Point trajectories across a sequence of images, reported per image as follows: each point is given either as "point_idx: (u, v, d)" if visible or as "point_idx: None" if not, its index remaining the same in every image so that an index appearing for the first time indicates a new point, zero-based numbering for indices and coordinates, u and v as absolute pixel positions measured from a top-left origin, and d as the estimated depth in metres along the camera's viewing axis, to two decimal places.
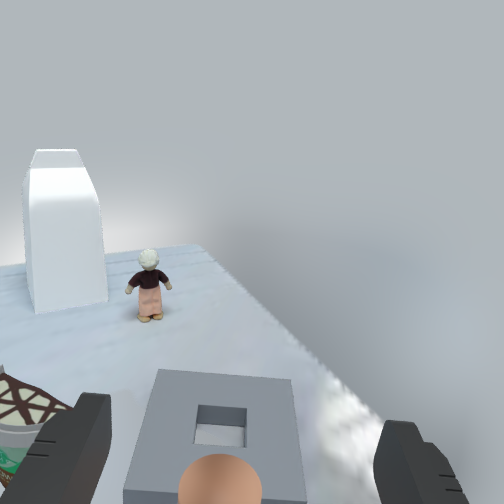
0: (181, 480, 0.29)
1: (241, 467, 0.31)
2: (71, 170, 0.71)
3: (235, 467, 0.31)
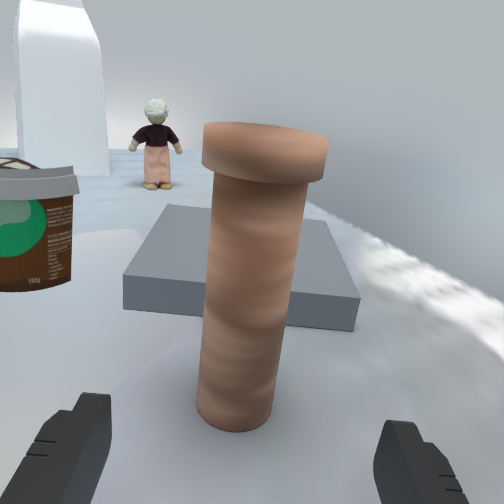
0: (208, 124, 0.20)
1: (294, 130, 0.21)
2: (68, 9, 0.62)
3: (285, 129, 0.21)
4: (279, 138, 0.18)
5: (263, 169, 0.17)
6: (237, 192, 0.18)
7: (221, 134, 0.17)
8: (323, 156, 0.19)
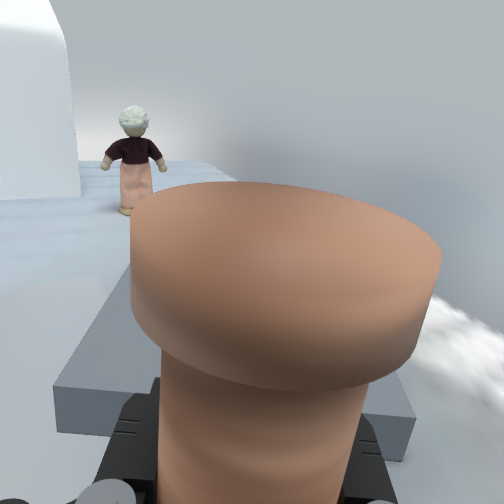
0: (146, 199, 0.08)
1: (341, 202, 0.10)
2: None
3: (323, 200, 0.10)
4: (323, 256, 0.07)
5: (282, 359, 0.06)
6: (212, 386, 0.07)
7: (163, 255, 0.06)
8: (431, 293, 0.07)
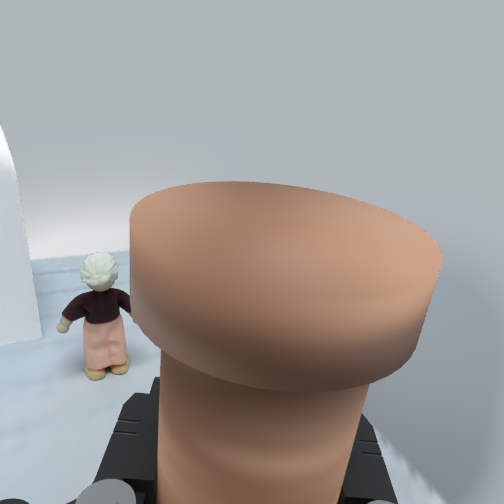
0: (146, 199, 0.08)
1: (341, 202, 0.10)
2: None
3: (323, 201, 0.10)
4: (323, 256, 0.07)
5: (281, 361, 0.06)
6: (212, 387, 0.07)
7: (163, 255, 0.06)
8: (432, 293, 0.07)
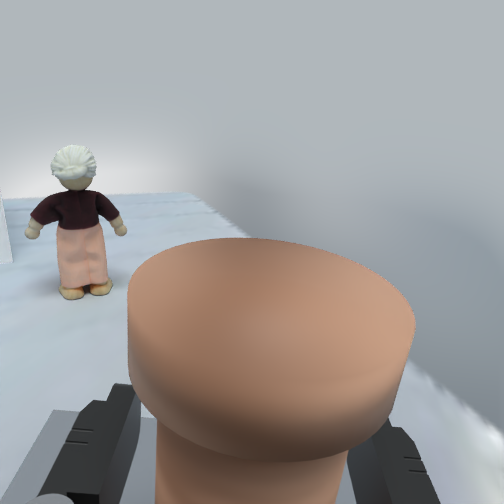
0: (143, 267, 0.09)
1: (326, 261, 0.10)
2: None
3: (309, 259, 0.10)
4: (304, 332, 0.07)
5: (265, 435, 0.07)
6: (204, 449, 0.08)
7: (157, 338, 0.07)
8: None
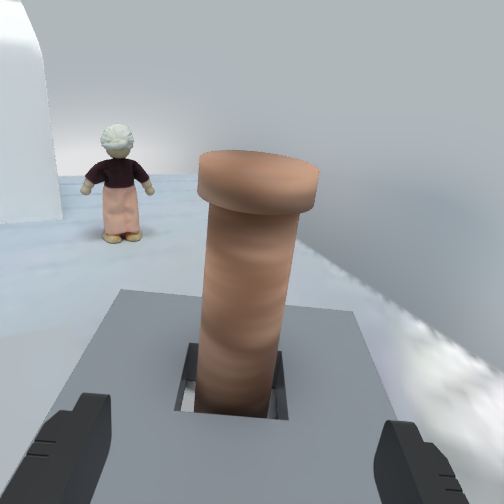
0: (203, 154, 0.20)
1: (286, 158, 0.22)
2: None
3: (278, 158, 0.22)
4: (271, 171, 0.19)
5: (256, 202, 0.18)
6: (231, 222, 0.19)
7: (216, 168, 0.18)
8: (314, 187, 0.19)
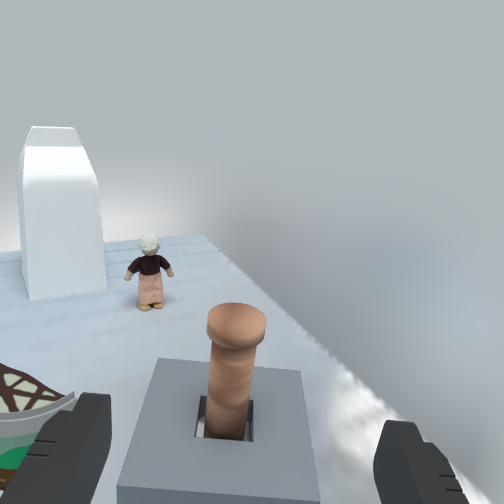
0: (209, 312, 0.42)
1: (251, 309, 0.43)
2: (68, 149, 0.67)
3: (247, 309, 0.43)
4: (242, 326, 0.40)
5: (234, 344, 0.39)
6: (223, 349, 0.40)
7: (215, 327, 0.39)
8: (262, 332, 0.41)
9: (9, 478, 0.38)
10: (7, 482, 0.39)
